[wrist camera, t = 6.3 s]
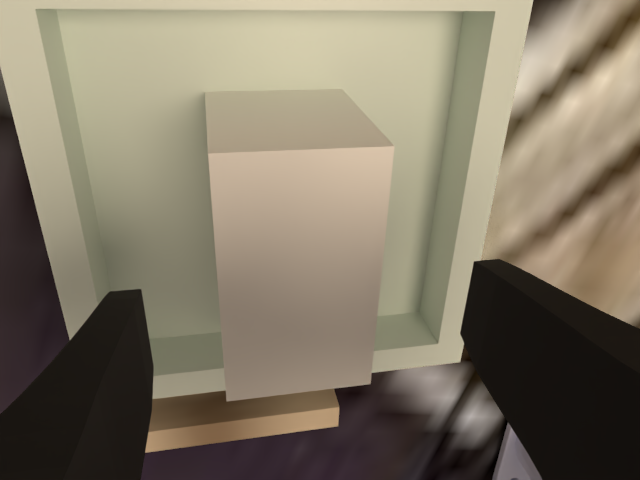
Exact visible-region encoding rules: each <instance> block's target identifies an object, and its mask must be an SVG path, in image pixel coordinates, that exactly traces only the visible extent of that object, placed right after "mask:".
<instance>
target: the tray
mask: <svg viewBox="0 0 640 480" xmlns="http://www.w3.org/2000/svg"><path fill="white" fill-rule="evenodd" d="M532 4H533V0H0V67H1V71H2V75H3V79H4V83H5V87H6V91H7V95H8V99H9V103H10V107H11V111H12V115H13V119H14V123H15V127H16V131H17V134H18V138H19V142H20V146H21V150H22V154H23V158H24V162H25V166H26V170H27V174H28V178H29V182H30V186H31V190H32V194H33V198H34V201H35V205H36V209H37V213H38V217H39V221H40V225H41V229H42V233H43V237H44V241H45V245H46V249H47V253H48V257H49V261H50V265H51V268H52V272H53V276H54V280H55V284H56V288H57V292H58V296H59V300H60V304H61V308H62V312H63V316H64V320H65V324H66V328H67V331H68V335H69V339H70V340H71V339H72V337H73V336H74V335H75V334H76V333H77V331H78V330H79V329H80V327H81V326H82V325H83V324H84V322H85V321H86V320H87V319H88V317H89V316H90V315H91V314H92V312H93V311H94V310H95V308H96V307H97V306H98V304H99V303H100V302H101V301H102V299H103V298H104V297H105V296H106V295H107V294H108V293H109V292H110V291H120V290H133V289H141V290H142V297H143V303H144V309H145V315H146V321H147V328H148V334H149V340H150V346H151V353H152V359H153V365H154V373H153V398H152V399H158V398H167V397H175V396H183V395H191V394H200V393H208V392H216V391H225V390H226V388H225V375H224V361H223V348H222V335H221V321H220V308H219V294H218V281H217V268H216V254H215V241H214V227H213V214H212V201H211V187H210V174H209V160H208V144H207V125H206V106H205V92H215V91H267V90H320V89H343V90H344V92H345V93H346V94H347V95H348V96H349V97H350V98H351V99H352V100H353V101H354V102H355V104H356V105H357V106H358V107H359V108H360V109H361V110H362V111H363V112H364V113H365V114H366V116H367V117H368V118H369V119H370V120H371V121H372V122H373V123H374V124H375V125H376V126H377V128H378V129H379V130H380V131H381V132H382V133H383V134H384V135H385V136H386V137H387V138H388V140H389V141H390V142H391V143H392V144H393V145H394V146H395V147H394V157H393V167H392V177H391V186H390V196H389V206H388V216H387V226H386V236H385V245H384V255H383V265H382V275H381V285H380V295H379V304H378V314H377V324H376V334H375V344H374V354H373V363H372V373H374V372H382V371H391V370H399V369H407V368H415V367H424V366H432V365H440V364H449V363H457V362H460V360H461V355H462V350H463V345H464V342H463V339H462V337H461V334H460V331H461V326H462V320H463V315H464V310H465V305H466V300H467V295H468V289H469V284H470V279H471V274H472V269H473V264H474V261H481V256H482V251H483V246H484V241H485V236H486V232H487V227H488V222H489V217H490V212H491V207H492V202H493V197H494V192H495V187H496V182H497V177H498V172H499V167H500V162H501V157H502V152H503V147H504V143H505V138H506V133H507V128H508V123H509V118H510V113H511V108H512V103H513V98H514V93H515V88H516V83H517V78H518V73H519V68H520V63H521V58H522V53H523V49H524V44H525V39H526V34H527V29H528V24H529V19H530V14H531V9H532Z"/></svg>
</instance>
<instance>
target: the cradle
mask: <svg viewBox="0 0 640 480" xmlns="http://www.w3.org/2000/svg"><path fill="white" fill-rule="evenodd" d="M338 421H339V404H338V401H337V397H336V394H335V391H334V389H325V390H317V391H309V392H301V393H293V394H285V395H276V396H268V397H260V398H252V399H244V400H236V401H227V402H226V390H225V391H216V392H208V393H200V394H191V395H183V396H175V397H167V398H158V399H152V413H151V419H150V426H149V432H148V438H147V444H146V450H145V453H147V452H154V451H161V450H169V449H176V448H183V447H190V446H198V445H205V444H212V443H219V442H227V441H234V440H241V439H249V438H256V437H263V436H270V435H278V434H285V433H292V432H299V431H307V430H314V429H321V428H329V427H336V426H338Z"/></svg>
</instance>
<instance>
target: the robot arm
mask: <svg viewBox="0 0 640 480" xmlns="http://www.w3.org/2000/svg"><path fill="white" fill-rule="evenodd" d="M460 334H461V337H462V339H463V342H464V344H465V346H466V349H467V351H468V354H469V356H470V358H471V360H472V362H473V365H474V367H475V369H476V371H477V373H478V374H479V376H480V378H481V379H482V381H483V383H484V384H485V386H486V388H487V389H488V391H489V393H490V394H491V396H492V397H493V399H494V401H495V402H496V404H497V405H498V407H499V409H500V410H501V412H502V413H503V415H504V417H505V418H506V420H507V421H508V424H507V427H506V431H505V434H504V438H503V442H502V445H501V449H500V452H499V456H498V460H497V463H496V467H495V470H494V474H493V478H492V480H640V329H639V328H636V327H634V326H632V325H630V324H628V323H626V322H623V321H621V320H619V319H617V318H615V317H613V316H611V315H609V314H606V313H604V312H602V311H600V310H598V309H596V308H594V307H592V306H590V305H588V304H587V303H585V302H583V301H581V300H579V299H577V298H575V297H573V296H571V295H569V294H567V293H565V292H564V291H562V290H560V289H558V288H556V287H554V286H552V285H550V284H548V283H547V282H545V281H543V280H541V279H539V278H537V277H535V276H533V275H532V274H530V273H528V272H526V271H524V270H522V269H520V268H518V267H516V266H514V265H512V264H509V263H507V262H505V261H502V260H500V259H495V260H483V261H474V264H473V269H472V274H471V279H470V284H469V289H468V295H467V300H466V305H465V310H464V315H463V320H462V326H461V331H460ZM153 373H154V365H153V359H152V353H151V346H150V340H149V334H148V328H147V321H146V315H145V309H144V303H143V297H142V290H141V289H133V290H120V291H110V292H109V293H108V294H107V295H106V296H105V297H104V298H103V299H102V301H101V302H100V303H99V304H98V306H97V307H96V308H95V310H94V311H93V312H92V314H91V315H90V316H89V317H88V319H87V320H86V321H85V322H84V324H83V325H82V326H81V327H80V329H79V330H78V331H77V333H76V334H75V335H74V336H73V337H72V339H71V340H70V341H69V342H68V343H67V344H66V346H65V347H64V348H63V349H62V350H61V352H60V353H59V354H58V355H57V356H56V357H55V359H54V360H53V361H52V362H51V363H50V364H49V365H48V366H47V367H46V369H45V370H44V371H43V372H42V373H41V374H40V375H39V376H38V377H37V378H36V379H35V380H34V381H33V382H32V383H31V384H30V385H29V387H28V388H27V389H26V390H25V391H24V392H23V393H22V394H21V395H20V396H19V397H18V398H17V399H16V400H15V401H14V402H13V403H12V404H11V405H10V406H9V407H8V408H7V409H6V410H4V411H3V412H2V413H1V414H0V480H140V479H141V473H142V467H143V461H144V455H145V450H146V444H147V438H148V432H149V426H150V419H151V413H152V398H153Z"/></svg>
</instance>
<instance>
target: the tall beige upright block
mask: <svg viewBox="0 0 640 480" xmlns="http://www.w3.org/2000/svg"><path fill="white" fill-rule="evenodd" d="M205 106H206V125H207V144H208V160H209V174H210V187H211V201H212V214H213V227H214V241H215V254H216V268H217V281H218V294H219V308H220V321H221V335H222V348H223V361H224V375H225V388H226V402H227V401H236V400H244V399H252V398H260V397H268V396H276V395H285V394H293V393H301V392H309V391H317V390H325V389H334V388H342V387H350V386H358V385H366V384H370V383H371V373H372V363H373V354H374V344H375V334H376V324H377V314H378V304H379V295H380V285H381V275H382V265H383V255H384V245H385V236H386V226H387V216H388V206H389V196H390V186H391V177H392V167H393V157H394V147H395V146H394V145H393V144H392V143H391V142H390V141H389V140H388V138H387V137H386V136H385V135H384V134H383V133H382V132H381V131H380V130H379V129H378V128H377V126H376V125H375V124H374V123H373V122H372V121H371V120H370V119H369V118H368V117H367V116H366V114H365V113H364V112H363V111H362V110H361V109H360V108H359V107H358V106H357V105H356V104H355V102H354V101H353V100H352V99H351V98H350V97H349V96H348V95H347V94H346V93H345V92H344V90H343V89H320V90H267V91H215V92H205Z"/></svg>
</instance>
